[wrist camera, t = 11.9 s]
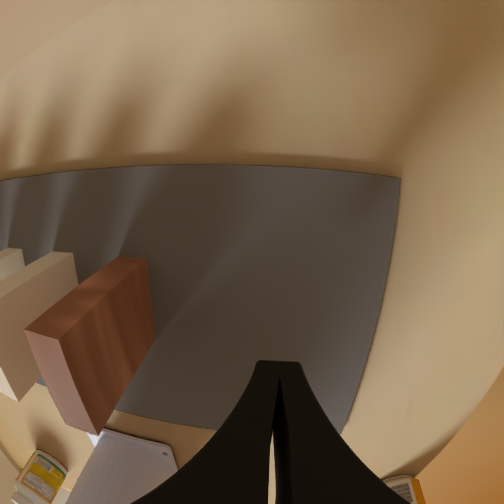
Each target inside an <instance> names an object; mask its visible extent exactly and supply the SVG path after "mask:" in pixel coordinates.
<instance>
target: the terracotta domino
mask: <svg viewBox="0 0 504 504" xmlns="http://www.w3.org/2000/svg"><path fill="white" fill-rule="evenodd" d="M24 331H25V334H26V337H27V340H28V342H29V345H30V348H31V351H32V353H33V356H34V358H35V361H36V363H37V366H38V368H39V370H40V373H41V375H42V377H43V380H44V382H45V384H46V386H47V388H48V390H49V393H50V395H51V397H52V399H53V401H54V403H55V405H56V407H57V409H58V411H59V412H60V414H61V416H62V418H63V420H64V422H65V424H67V425H69V426H72V427H74V428H77V429H80V430H82V431H85V432H88V433H90V434H93V435H96V436H99V435H100V433H101V431H102V429H103V428H104V426H105V424H106V422H107V421H108V419H109V417H110V415H111V414H112V412H113V410H114V408H115V407H116V405H117V403H118V401H119V400H120V398H121V396H122V395H123V393H124V391H125V389H126V388H127V386H128V384H129V383H130V381H131V379H132V378H133V376H134V374H135V373H136V371H137V369H138V367H139V366H140V364H141V362H142V361H143V359H144V358H145V356H146V354H147V353H148V351H149V349H150V348H151V346H152V344H153V343H154V341H155V339H156V334H155V327H154V320H153V312H152V305H151V296H150V287H149V277H148V267H147V258H133V257H120V256H118V257H116V258H115V259H114V260H112V261H111V262H109V263H108V264H107V265H105V266H104V267H102V268H101V269H100V270H98V271H97V272H96V273H94V274H93V275H92V276H90V277H89V278H88V279H86V280H85V281H84V282H82V283H81V284H80V285H78V286H77V287H76V288H74V289H73V290H72V291H71V292H69V293H68V294H67V295H65V296H64V297H63V298H62V299H60V300H59V301H58V302H57V303H55V304H54V305H53V306H52V307H50V308H49V309H48V310H47V311H45V312H44V313H43V314H42V315H40V316H39V317H38V318H37V319H36V320H34V321H33V322H32V323H31V324H30V325H28V326H27V327H26V328H25V329H24Z"/></svg>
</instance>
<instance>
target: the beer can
mask: <svg viewBox="0 0 504 504" xmlns="http://www.w3.org/2000/svg"><path fill="white" fill-rule="evenodd" d="M382 481H383V482H384V483H385V484H386V485H387V486H388V487H390V488H391V489H392V490H393V491H395V492H396V493H397V494H399V495H400V496H401V497H402V498H404V499H405V500H407V501H408V502H409V503H411V504H426V503H425V500H424V496H423V493H422V489H421V486H420V482H419V480H418V479H415V478H413V477H412V476H410V475H399V476H394V477H391V478H388V479H385V480H382Z"/></svg>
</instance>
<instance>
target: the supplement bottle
mask: <svg viewBox="0 0 504 504" xmlns="http://www.w3.org/2000/svg"><path fill="white" fill-rule="evenodd" d="M66 475H67V471H66V469H65V468H64V466H63V465H62V464H61V463H59V462H58V461H57V460H56V459H55V458H53V457H52V456H50V455H49V454H47V453H45V452H43V451H41V450H36V451H35V452H34V453H33V454H32V456H31V457H30V459H29V460H28V462H27V463H26V465H25V467H24V468H23V470H22V471H21V473H20V474H19V476H18V477H17V479H16V480H15V483H14V484H15V487H16V489H17V490H18V491H17V493H16V492H15V493H13V495H12V497H11V500H12V501H13V502H14V503H16V504H51V503H52V501H53V500H54V498H55V496H56V494H57V492H58V490H59V488H60V486H61V485H62V483H63V481H64V479H65V477H66Z"/></svg>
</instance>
